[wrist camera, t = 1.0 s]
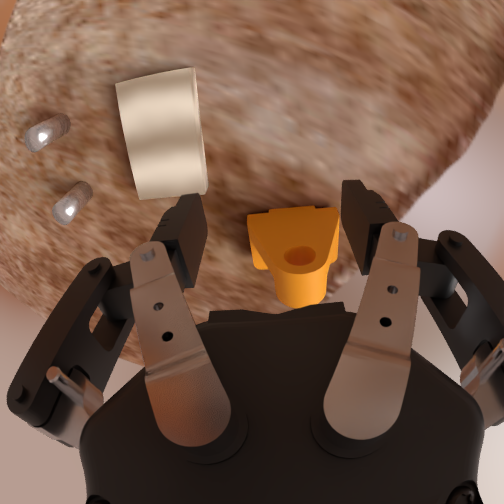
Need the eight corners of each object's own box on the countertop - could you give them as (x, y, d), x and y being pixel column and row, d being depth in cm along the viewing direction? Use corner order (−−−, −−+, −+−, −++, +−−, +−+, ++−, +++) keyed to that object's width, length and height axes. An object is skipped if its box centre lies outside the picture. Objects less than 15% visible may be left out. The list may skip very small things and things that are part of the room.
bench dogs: (51, 118, 26) (21, 132, 22) (66, 110, 26) (37, 123, 21) (80, 202, 34) (58, 226, 29) (95, 198, 34) (74, 223, 29)
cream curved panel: (127, 80, 25) (115, 83, 23) (195, 67, 25) (188, 67, 22) (147, 188, 34) (139, 199, 31) (209, 183, 33) (205, 194, 31)
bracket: (255, 256, 39) (253, 327, 30) (247, 211, 35) (242, 279, 26) (332, 250, 38) (352, 318, 29) (334, 203, 34) (361, 268, 24)
